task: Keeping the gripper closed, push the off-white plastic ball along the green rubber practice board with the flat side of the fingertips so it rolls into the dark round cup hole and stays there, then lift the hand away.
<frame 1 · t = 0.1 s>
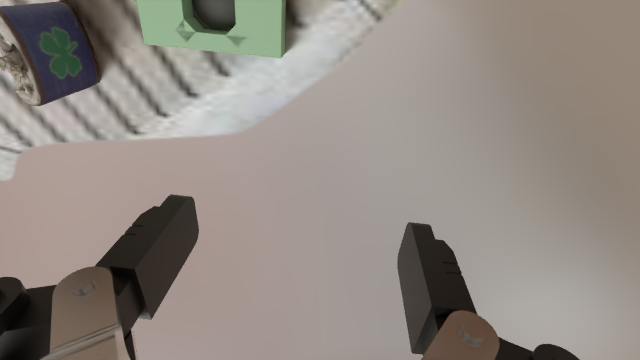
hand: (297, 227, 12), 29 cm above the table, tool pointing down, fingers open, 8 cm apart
flask: (82, 45, 38), on the table
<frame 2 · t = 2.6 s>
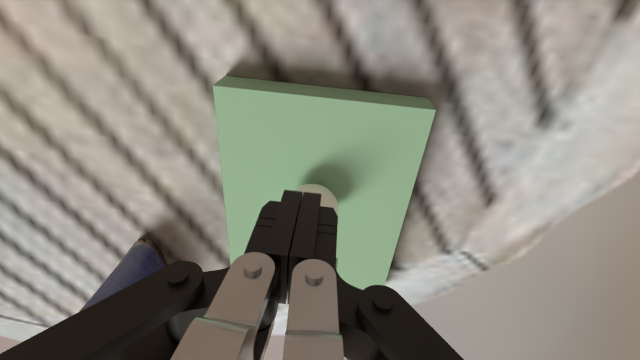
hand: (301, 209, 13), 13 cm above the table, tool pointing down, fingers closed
flask: (158, 266, 36), on the table
practice board: (315, 201, 29), on the table
ball: (312, 210, 24), point 4 cm above the table, touching practice board
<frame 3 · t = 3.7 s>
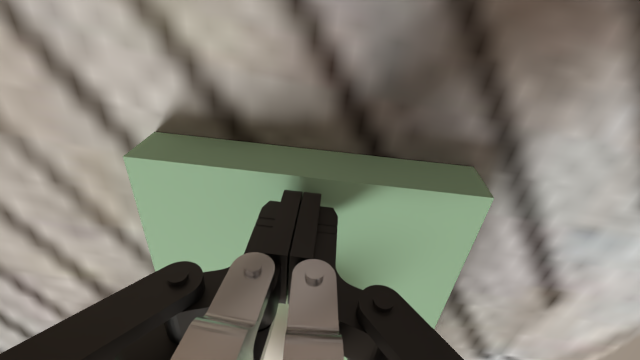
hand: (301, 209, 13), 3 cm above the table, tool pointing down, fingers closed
practice board: (301, 295, 21), on the table
ball: (291, 339, 15), point 4 cm above the table, touching practice board
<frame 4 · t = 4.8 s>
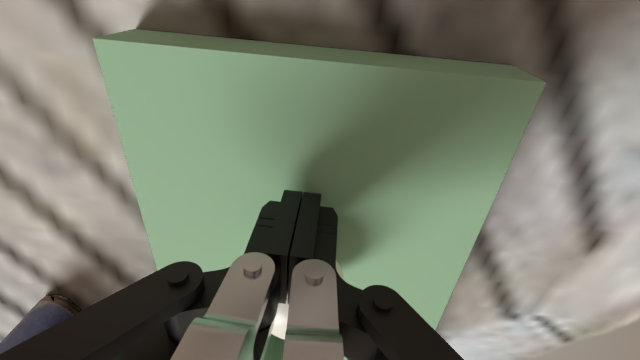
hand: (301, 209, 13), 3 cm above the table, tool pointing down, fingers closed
flask: (84, 329, 25), on the table
practice board: (306, 243, 18), on the table
ball: (297, 288, 13), point 4 cm above the table, tilted 22°, touching gripper, practice board
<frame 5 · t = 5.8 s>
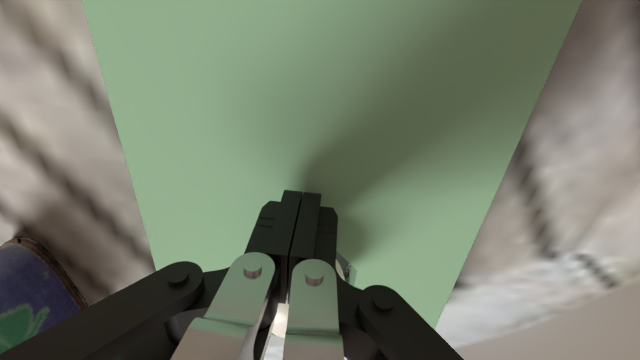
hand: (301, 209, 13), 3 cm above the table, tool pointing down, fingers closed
flask: (59, 283, 22), on the table
practice board: (311, 160, 15), on the table
ball: (298, 287, 14), point 4 cm above the table, tilted 137°, touching practice board
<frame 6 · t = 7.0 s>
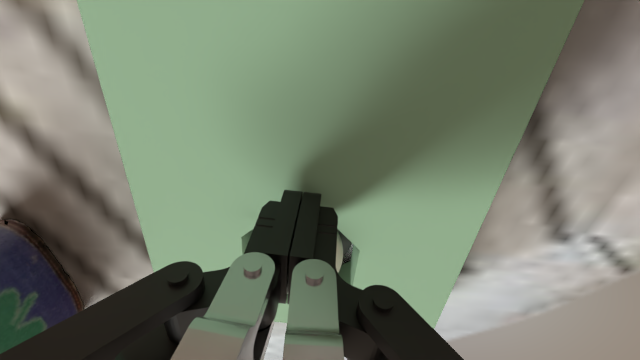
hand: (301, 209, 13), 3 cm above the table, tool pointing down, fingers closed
flask: (49, 269, 21), on the table
practice board: (312, 134, 14), on the table
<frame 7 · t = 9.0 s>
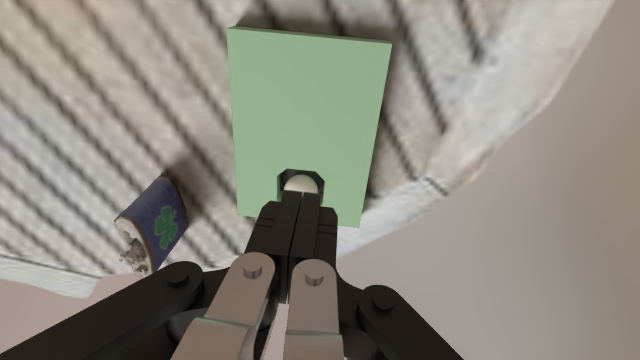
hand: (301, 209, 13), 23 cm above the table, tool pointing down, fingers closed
flask: (174, 204, 43), on the table
practice board: (305, 134, 36), on the table
ball: (300, 191, 38), point 2 cm above the table, tilted 124°, touching practice board
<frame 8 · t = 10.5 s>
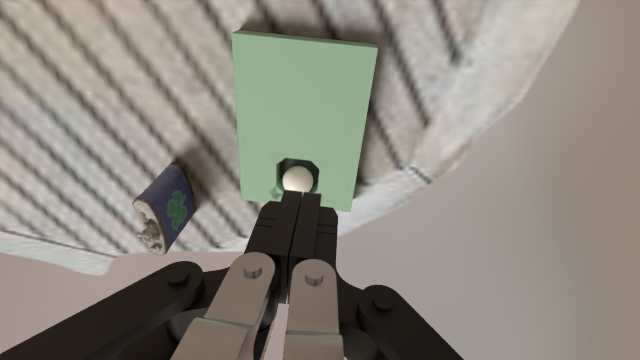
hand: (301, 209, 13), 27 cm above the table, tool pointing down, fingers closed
flask: (183, 189, 47), on the table
practice board: (302, 127, 40), on the table
ball: (297, 181, 42), point 2 cm above the table, tilted 113°, touching practice board
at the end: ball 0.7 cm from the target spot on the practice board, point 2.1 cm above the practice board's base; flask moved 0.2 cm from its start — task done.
